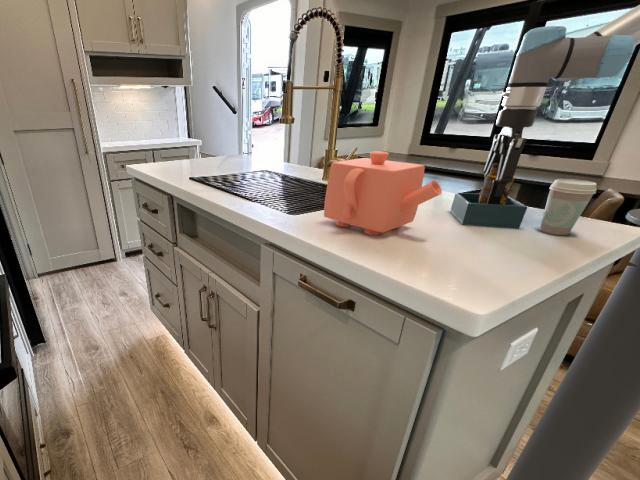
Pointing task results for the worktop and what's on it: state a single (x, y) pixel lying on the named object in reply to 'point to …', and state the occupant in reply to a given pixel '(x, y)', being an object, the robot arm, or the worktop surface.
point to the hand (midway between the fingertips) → (486, 205)
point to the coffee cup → (566, 205)
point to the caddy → (487, 212)
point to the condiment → (488, 186)
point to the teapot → (376, 192)
